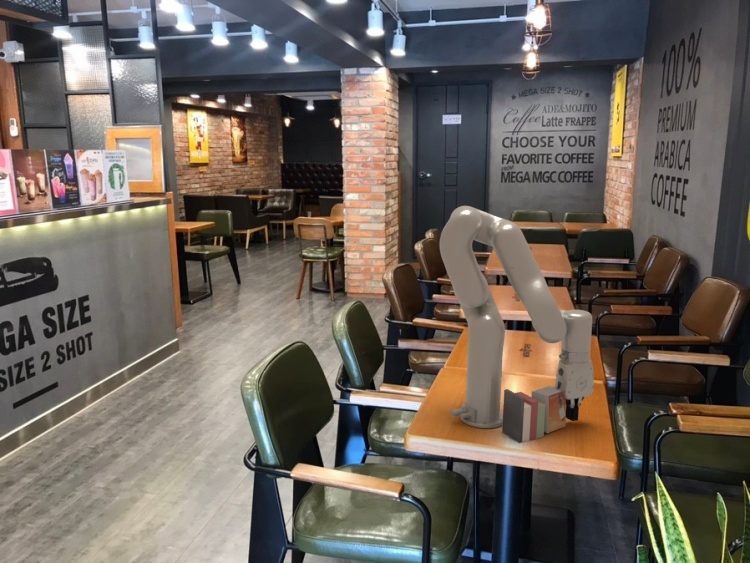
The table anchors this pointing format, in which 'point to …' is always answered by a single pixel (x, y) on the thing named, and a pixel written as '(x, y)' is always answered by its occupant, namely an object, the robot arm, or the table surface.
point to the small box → (552, 407)
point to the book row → (522, 417)
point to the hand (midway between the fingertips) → (571, 419)
